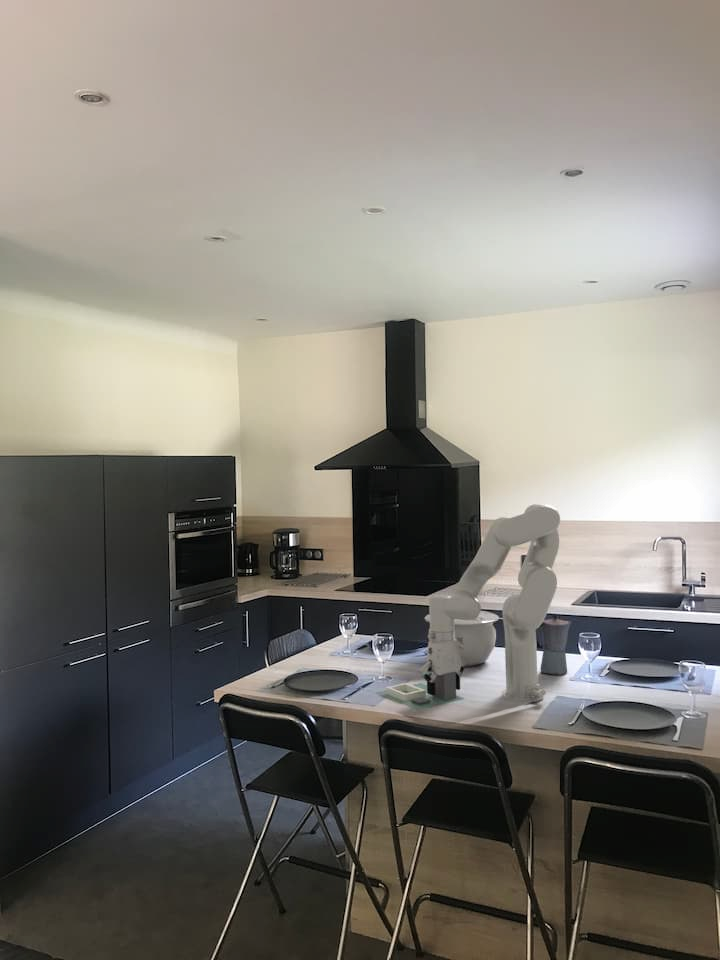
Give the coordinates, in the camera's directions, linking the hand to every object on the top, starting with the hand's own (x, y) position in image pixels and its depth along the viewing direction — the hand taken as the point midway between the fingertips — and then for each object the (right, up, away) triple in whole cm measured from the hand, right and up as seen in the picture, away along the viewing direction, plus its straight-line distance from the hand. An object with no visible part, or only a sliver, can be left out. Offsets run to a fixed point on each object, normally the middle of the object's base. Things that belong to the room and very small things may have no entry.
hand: (443, 691), depth 231 cm
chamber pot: (+12, -3, +47) cm, 49 cm away
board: (-7, -3, +2) cm, 8 cm away
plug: (0, -2, 0) cm, 2 cm away
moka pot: (+41, -2, +29) cm, 50 cm away
